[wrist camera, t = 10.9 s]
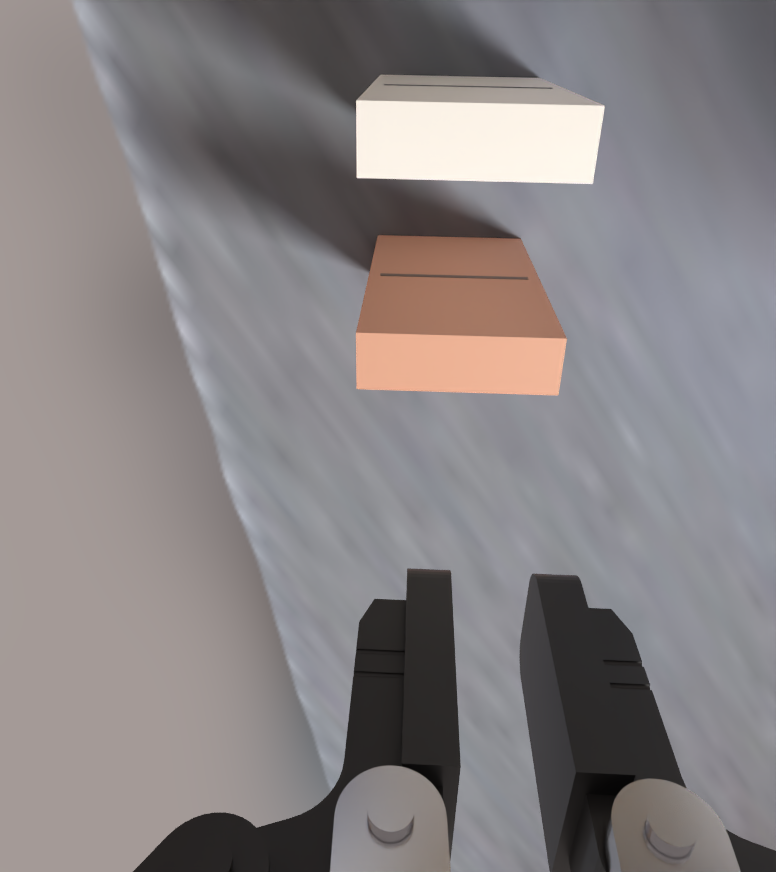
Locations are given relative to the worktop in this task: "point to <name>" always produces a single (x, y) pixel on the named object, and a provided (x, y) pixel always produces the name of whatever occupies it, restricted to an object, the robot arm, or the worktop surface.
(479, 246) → the rust tile
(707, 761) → the worktop surface
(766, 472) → the worktop surface
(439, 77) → the ivory tile
